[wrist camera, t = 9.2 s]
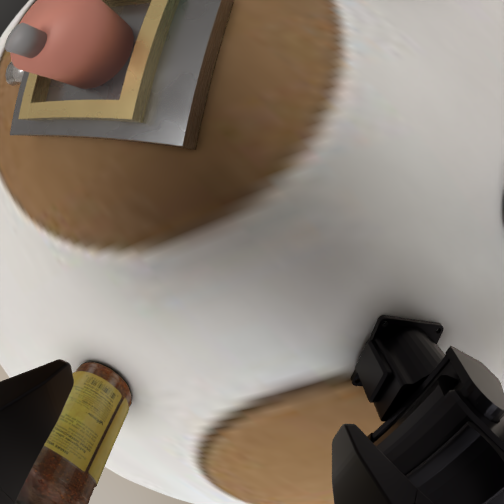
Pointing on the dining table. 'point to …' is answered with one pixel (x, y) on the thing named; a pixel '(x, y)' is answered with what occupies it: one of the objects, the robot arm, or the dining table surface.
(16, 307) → the dining table surface
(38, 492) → the sauce bottle
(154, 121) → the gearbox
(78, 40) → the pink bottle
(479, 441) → the robot arm
